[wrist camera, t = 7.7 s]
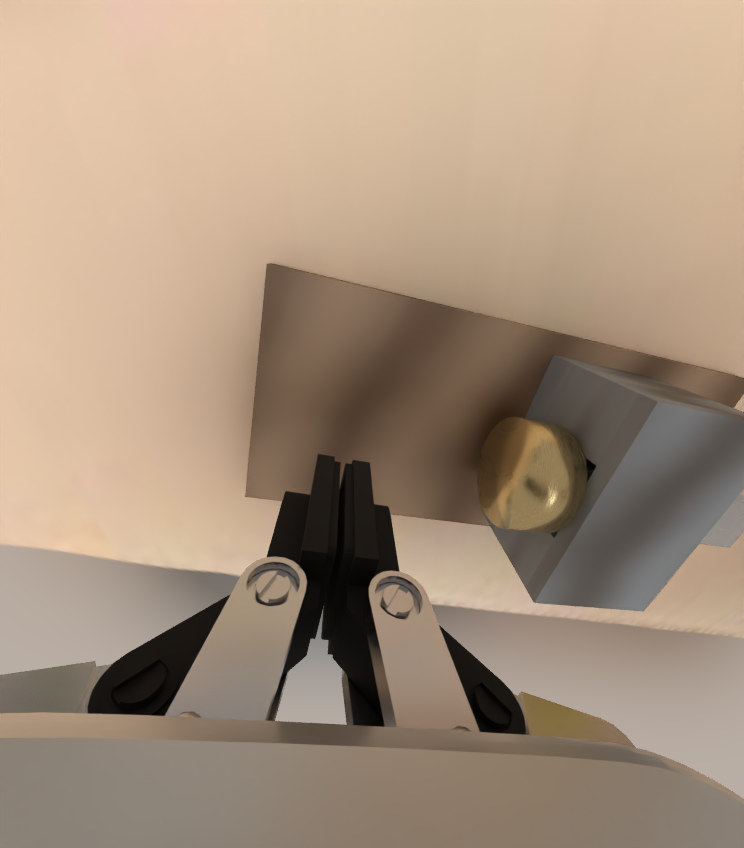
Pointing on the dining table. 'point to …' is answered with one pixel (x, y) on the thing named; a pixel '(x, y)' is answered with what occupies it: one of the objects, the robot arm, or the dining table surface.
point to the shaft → (552, 481)
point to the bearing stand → (480, 412)
